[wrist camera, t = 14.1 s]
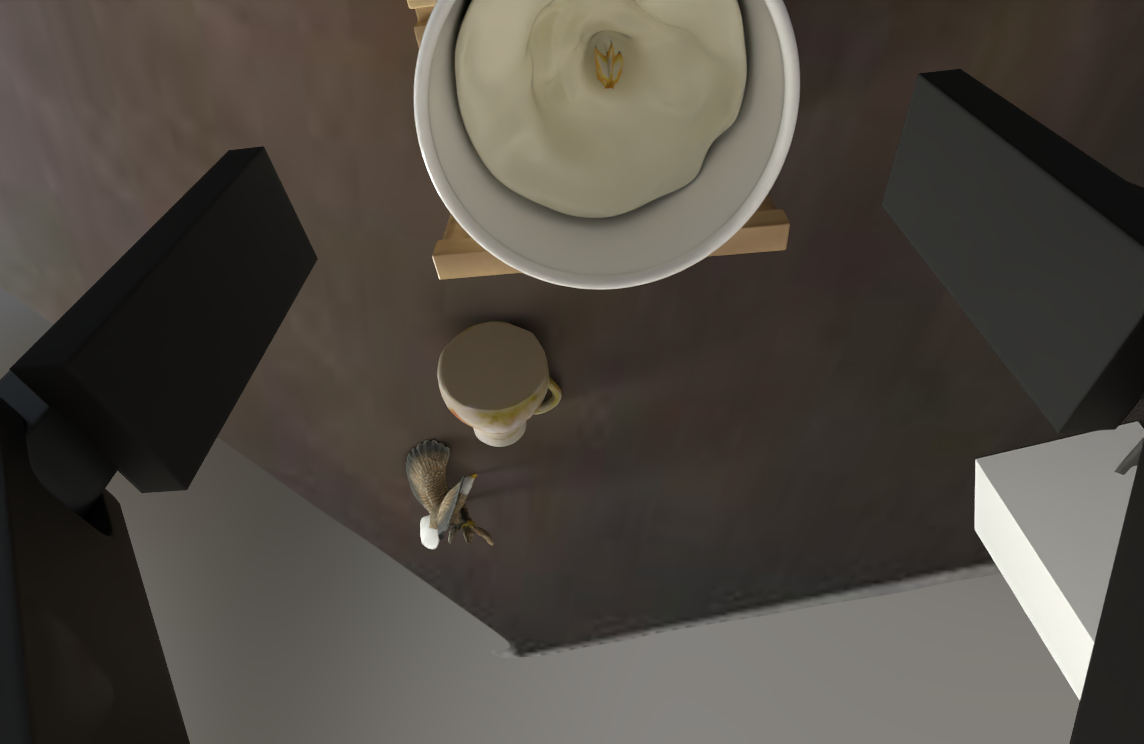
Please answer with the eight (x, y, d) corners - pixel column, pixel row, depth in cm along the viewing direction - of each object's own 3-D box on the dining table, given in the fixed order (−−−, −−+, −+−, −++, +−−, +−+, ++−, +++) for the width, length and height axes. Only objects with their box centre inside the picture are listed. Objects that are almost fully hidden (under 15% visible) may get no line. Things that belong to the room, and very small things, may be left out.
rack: (397, -140, 24) (307, -119, 16) (767, -192, 22) (869, -199, 15) (469, 170, 32) (435, 282, 25) (737, 143, 31) (791, 252, 23)
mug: (461, 418, 47) (406, 468, 37) (484, 300, 44) (430, 322, 35) (551, 444, 46) (518, 502, 36) (579, 325, 43) (552, 354, 34)
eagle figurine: (519, 505, 53) (484, 459, 45) (474, 577, 50) (429, 541, 43) (456, 473, 56) (414, 426, 49) (410, 538, 53) (359, 499, 46)
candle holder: (768, -43, 22) (892, 44, 14) (634, 175, 28) (661, 333, 20) (535, -208, 19) (502, -232, 11) (440, 76, 25) (369, 210, 17)
